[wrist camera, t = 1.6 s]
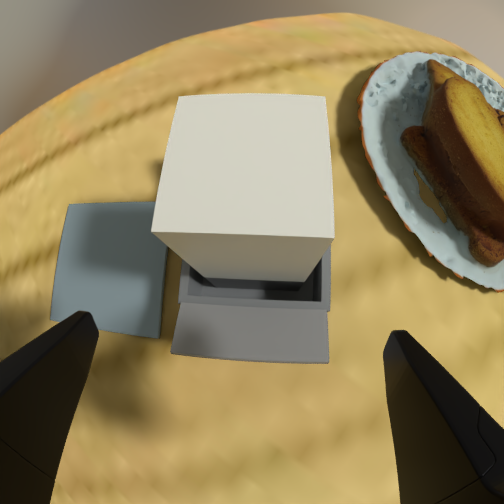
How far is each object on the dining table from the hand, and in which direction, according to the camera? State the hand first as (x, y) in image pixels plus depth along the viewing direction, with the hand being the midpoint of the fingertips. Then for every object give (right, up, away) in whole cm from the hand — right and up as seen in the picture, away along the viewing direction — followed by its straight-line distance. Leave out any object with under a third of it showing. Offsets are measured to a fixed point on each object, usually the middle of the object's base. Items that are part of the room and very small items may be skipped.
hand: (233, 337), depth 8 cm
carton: (+1, +2, +13) cm, 13 cm away
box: (+1, +2, +13) cm, 13 cm away
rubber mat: (-11, +1, +14) cm, 17 cm away
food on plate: (+22, +11, +15) cm, 29 cm away
